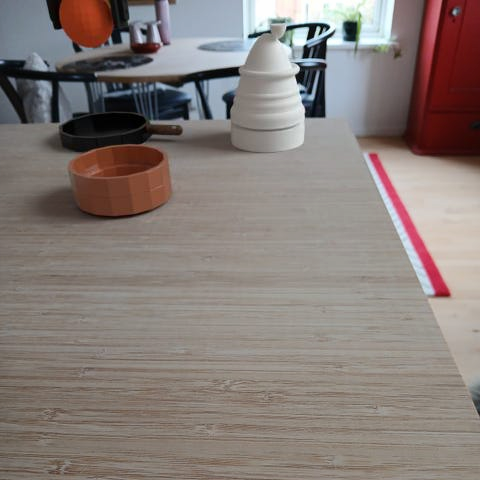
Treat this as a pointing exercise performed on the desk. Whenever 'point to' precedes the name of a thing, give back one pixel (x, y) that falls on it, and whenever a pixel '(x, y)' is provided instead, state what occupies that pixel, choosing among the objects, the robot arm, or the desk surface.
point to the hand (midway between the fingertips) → (91, 27)
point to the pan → (111, 130)
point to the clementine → (86, 21)
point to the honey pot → (268, 99)
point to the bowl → (120, 179)
